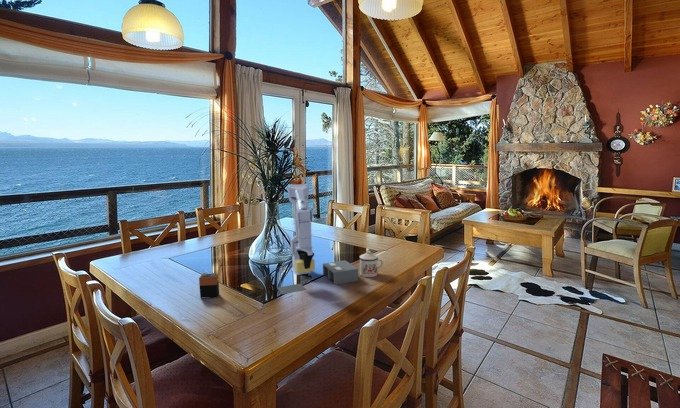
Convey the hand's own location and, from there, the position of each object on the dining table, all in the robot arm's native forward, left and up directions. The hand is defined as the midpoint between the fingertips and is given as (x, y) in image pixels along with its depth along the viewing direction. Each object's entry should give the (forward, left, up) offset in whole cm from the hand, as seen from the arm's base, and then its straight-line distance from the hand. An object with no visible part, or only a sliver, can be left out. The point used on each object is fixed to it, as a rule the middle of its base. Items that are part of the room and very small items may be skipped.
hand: (305, 266), depth 152 cm
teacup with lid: (-1, +34, -10) cm, 36 cm away
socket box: (-3, +18, -9) cm, 21 cm away
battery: (-8, -40, -10) cm, 42 cm away
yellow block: (0, 0, -2) cm, 2 cm away
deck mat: (0, -7, -9) cm, 12 cm away
